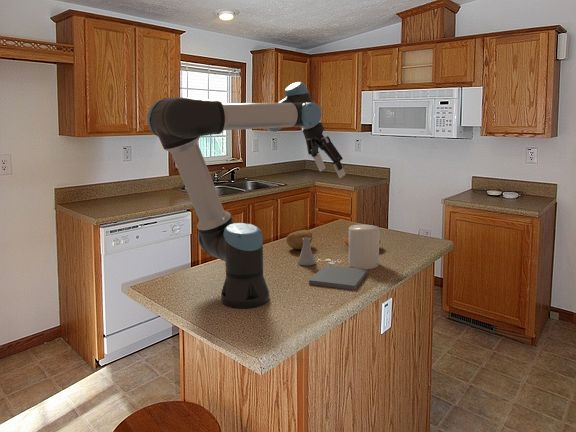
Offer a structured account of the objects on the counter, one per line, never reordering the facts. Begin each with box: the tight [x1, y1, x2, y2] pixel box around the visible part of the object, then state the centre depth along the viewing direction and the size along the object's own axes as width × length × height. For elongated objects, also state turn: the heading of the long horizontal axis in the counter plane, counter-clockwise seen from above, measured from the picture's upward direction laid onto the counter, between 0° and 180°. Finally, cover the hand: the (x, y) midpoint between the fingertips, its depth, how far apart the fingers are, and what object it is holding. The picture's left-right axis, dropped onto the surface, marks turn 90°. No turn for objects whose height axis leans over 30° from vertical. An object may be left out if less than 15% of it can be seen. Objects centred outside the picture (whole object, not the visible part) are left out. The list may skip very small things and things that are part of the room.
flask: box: [297, 238, 317, 267], centre depth 187 cm, size 7×7×10 cm
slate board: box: [308, 264, 369, 291], centre depth 170 cm, size 18×16×2 cm
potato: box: [286, 229, 313, 250], centre depth 208 cm, size 10×14×8 cm
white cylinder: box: [347, 224, 381, 270], centre depth 184 cm, size 11×11×14 cm
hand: (332, 172), depth 184 cm, fingers open, 13 cm apart
